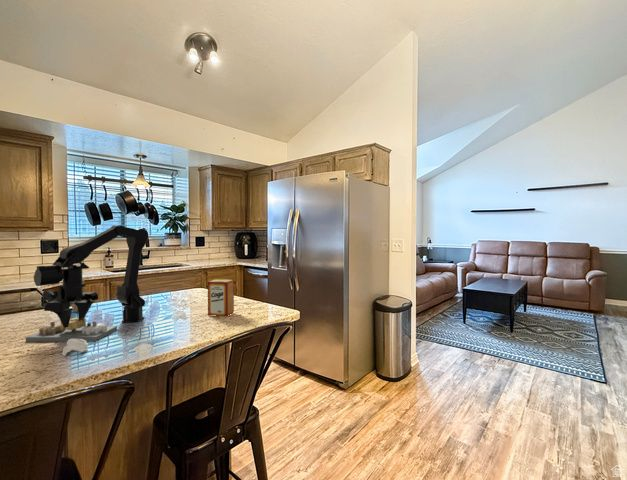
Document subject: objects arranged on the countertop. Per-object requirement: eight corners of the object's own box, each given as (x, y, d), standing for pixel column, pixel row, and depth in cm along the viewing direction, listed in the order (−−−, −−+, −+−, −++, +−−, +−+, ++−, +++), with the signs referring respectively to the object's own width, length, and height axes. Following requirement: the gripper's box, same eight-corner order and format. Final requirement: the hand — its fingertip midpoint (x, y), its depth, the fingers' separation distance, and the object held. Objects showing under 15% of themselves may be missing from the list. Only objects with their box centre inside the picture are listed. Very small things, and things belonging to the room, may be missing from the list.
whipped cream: (61, 354, 98) (59, 339, 98) (86, 346, 103) (84, 332, 103) (64, 360, 92) (61, 344, 92) (91, 351, 97) (88, 336, 97)
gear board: (117, 330, 119) (116, 316, 119) (95, 341, 107) (95, 325, 107) (54, 330, 118) (53, 316, 118) (25, 341, 106) (25, 325, 106)
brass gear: (90, 324, 116) (90, 317, 116) (76, 330, 109) (75, 323, 109) (71, 324, 116) (71, 317, 116) (55, 330, 109) (55, 323, 109)
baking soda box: (208, 315, 139) (207, 280, 139) (215, 312, 146) (215, 278, 145) (227, 317, 137) (227, 281, 137) (233, 313, 144) (233, 279, 143)
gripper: (70, 278, 121) (71, 317, 122) (27, 286, 103) (28, 332, 103) (98, 278, 121) (99, 317, 122) (60, 286, 103) (61, 332, 103)
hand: (73, 324), depth 113 cm, fingers closed on brass gear, 7 cm apart
